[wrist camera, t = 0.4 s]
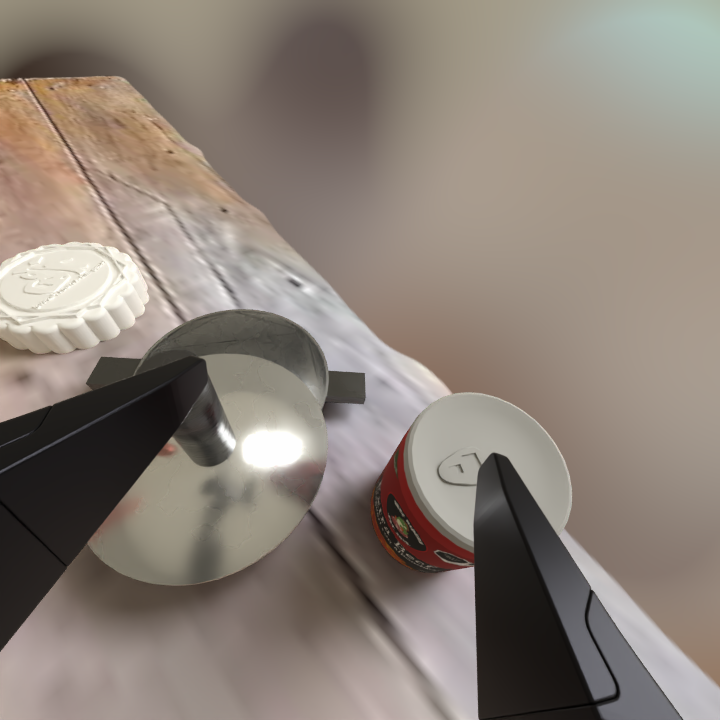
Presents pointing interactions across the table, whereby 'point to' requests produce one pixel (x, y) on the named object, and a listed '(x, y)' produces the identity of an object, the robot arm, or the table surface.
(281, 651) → the table surface
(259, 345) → the cooker pot
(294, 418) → the cooker lid
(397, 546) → the canned food
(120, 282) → the mooncake
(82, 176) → the table surface
